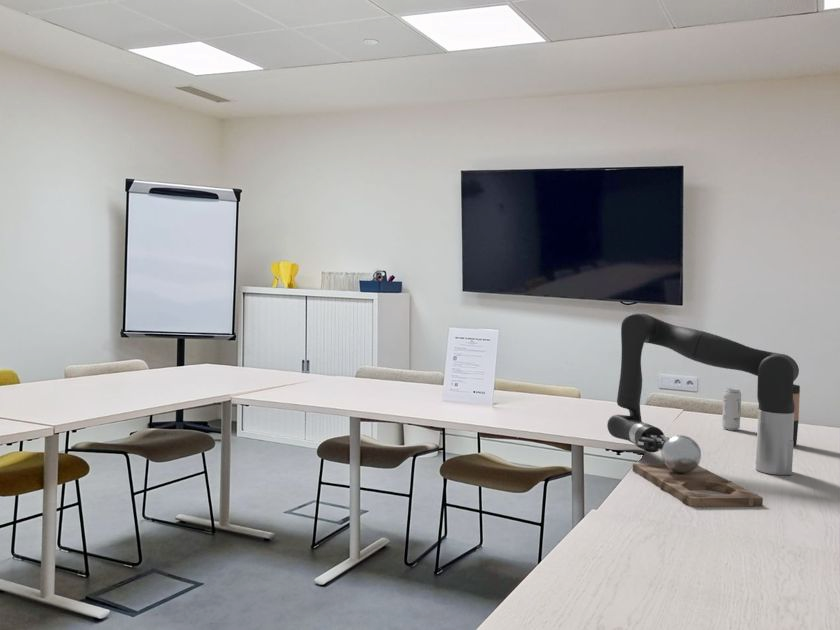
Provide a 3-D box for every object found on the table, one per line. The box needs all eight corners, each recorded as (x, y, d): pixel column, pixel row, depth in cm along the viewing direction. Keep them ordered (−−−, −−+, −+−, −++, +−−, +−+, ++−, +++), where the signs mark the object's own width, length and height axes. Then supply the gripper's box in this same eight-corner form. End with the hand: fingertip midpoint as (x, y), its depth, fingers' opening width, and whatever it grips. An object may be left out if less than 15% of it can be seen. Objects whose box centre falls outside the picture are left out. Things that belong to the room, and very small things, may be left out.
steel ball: (697, 460, 209) (709, 436, 203) (690, 486, 202) (703, 462, 196) (660, 446, 212) (671, 422, 205) (653, 471, 205) (664, 447, 198)
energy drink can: (737, 431, 278) (739, 390, 277) (720, 429, 281) (722, 388, 280) (740, 429, 283) (742, 388, 282) (723, 427, 286) (725, 387, 285)
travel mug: (800, 447, 252) (803, 387, 251) (775, 445, 254) (778, 385, 253) (793, 442, 260) (796, 384, 259) (769, 441, 261) (772, 382, 260)
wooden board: (630, 470, 213) (630, 463, 213) (695, 470, 215) (695, 463, 215) (689, 507, 179) (689, 498, 179) (765, 506, 181) (766, 498, 181)
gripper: (625, 424, 225) (650, 435, 208) (668, 424, 227) (696, 436, 209) (624, 449, 225) (649, 463, 208) (667, 449, 227) (695, 463, 210)
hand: (672, 449), depth 209 cm, fingers closed
